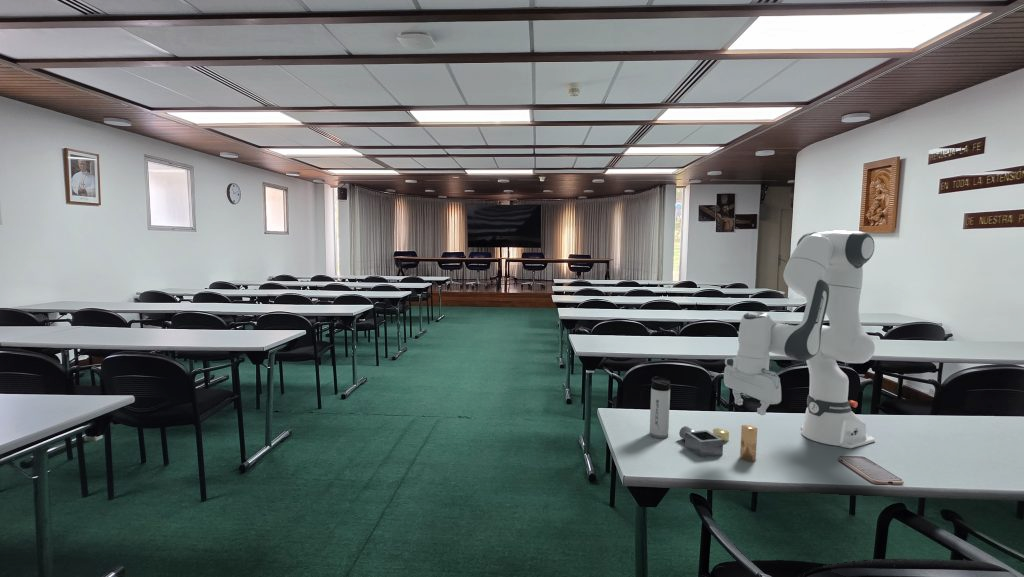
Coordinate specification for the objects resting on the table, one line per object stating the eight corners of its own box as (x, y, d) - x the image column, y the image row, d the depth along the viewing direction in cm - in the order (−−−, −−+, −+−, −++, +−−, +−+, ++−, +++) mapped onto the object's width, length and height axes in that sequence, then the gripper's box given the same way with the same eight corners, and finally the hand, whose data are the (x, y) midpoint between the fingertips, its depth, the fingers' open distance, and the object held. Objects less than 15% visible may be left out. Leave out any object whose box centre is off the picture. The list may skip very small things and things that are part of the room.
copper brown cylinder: (748, 454, 148) (750, 424, 147) (759, 461, 144) (760, 429, 143) (736, 456, 147) (738, 425, 146) (747, 462, 143) (748, 430, 142)
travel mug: (660, 430, 167) (662, 375, 166) (672, 437, 161) (674, 380, 160) (645, 432, 166) (647, 377, 164) (656, 439, 159) (658, 382, 158)
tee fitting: (694, 437, 161) (695, 423, 161) (722, 454, 148) (723, 439, 147) (674, 439, 159) (675, 425, 159) (700, 457, 146) (701, 441, 145)
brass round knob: (721, 436, 163) (722, 427, 163) (731, 441, 158) (732, 433, 158) (709, 437, 162) (709, 429, 162) (719, 443, 157) (719, 434, 157)
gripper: (788, 373, 134) (785, 420, 135) (737, 357, 153) (735, 398, 154) (770, 374, 132) (767, 421, 133) (721, 358, 152) (718, 399, 153)
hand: (749, 409), depth 144 cm, fingers open, 8 cm apart
